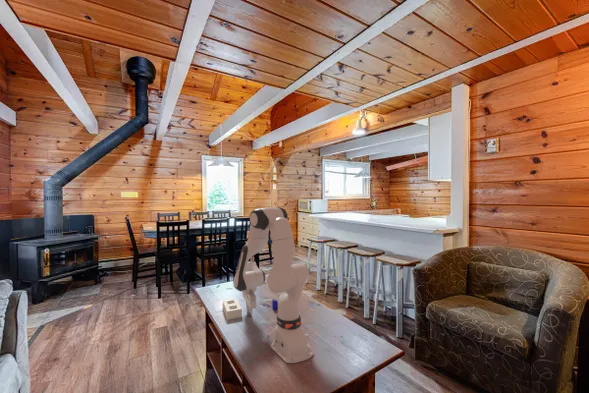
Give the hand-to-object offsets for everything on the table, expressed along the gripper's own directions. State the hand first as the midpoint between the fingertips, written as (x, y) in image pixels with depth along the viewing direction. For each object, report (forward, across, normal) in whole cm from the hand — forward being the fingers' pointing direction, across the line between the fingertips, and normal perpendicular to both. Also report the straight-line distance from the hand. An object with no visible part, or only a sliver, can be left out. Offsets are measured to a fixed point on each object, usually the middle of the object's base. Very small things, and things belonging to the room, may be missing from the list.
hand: (249, 309), depth 157 cm
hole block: (+4, +8, +9) cm, 13 cm away
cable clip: (+4, +5, -22) cm, 23 cm away
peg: (+4, 0, 0) cm, 4 cm away
